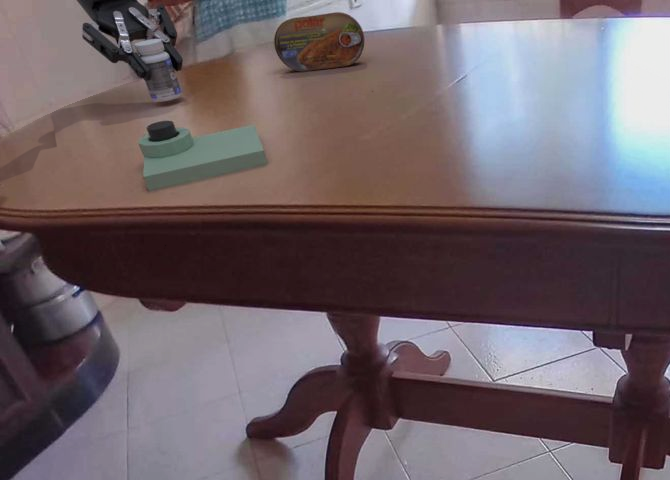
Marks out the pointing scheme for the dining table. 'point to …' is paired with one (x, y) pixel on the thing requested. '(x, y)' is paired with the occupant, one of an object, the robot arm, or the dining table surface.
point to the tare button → (161, 131)
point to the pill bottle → (159, 70)
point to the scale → (199, 156)
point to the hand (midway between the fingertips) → (164, 71)
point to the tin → (319, 41)
